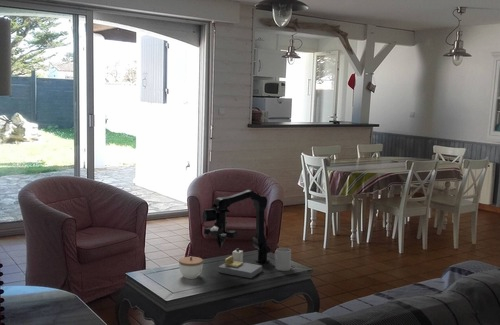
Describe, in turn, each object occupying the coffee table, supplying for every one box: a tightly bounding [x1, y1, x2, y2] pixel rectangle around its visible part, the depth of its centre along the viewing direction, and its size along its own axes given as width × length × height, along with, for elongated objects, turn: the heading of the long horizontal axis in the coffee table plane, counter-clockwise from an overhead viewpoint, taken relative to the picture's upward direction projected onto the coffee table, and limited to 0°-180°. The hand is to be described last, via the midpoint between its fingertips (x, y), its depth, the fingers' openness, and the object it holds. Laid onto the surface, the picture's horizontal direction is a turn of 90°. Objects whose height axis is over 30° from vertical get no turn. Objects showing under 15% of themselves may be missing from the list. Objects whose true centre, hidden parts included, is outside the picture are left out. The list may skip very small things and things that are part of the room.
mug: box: [274, 247, 292, 272], centre depth 295 cm, size 12×8×11 cm
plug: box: [231, 247, 244, 262], centre depth 298 cm, size 4×4×10 cm
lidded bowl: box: [178, 255, 204, 280], centre depth 275 cm, size 13×13×11 cm
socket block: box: [217, 261, 263, 279], centre depth 286 cm, size 14×20×3 cm
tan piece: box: [224, 255, 244, 267], centre depth 288 cm, size 8×8×4 cm
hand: (220, 247), depth 291 cm, fingers closed
